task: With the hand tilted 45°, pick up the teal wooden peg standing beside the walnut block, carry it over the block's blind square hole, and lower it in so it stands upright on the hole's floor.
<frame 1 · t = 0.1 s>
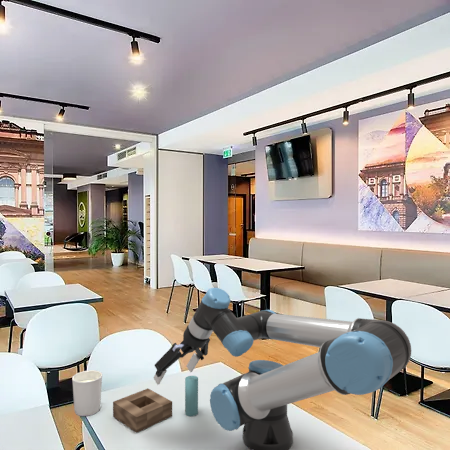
hand: (173, 374, 128), 15 cm above the table, tool tilted 35°, fingers open, 13 cm apart
teal peg: (191, 412, 133), on the table
walnut block: (142, 416, 130), on the table
candle holder: (87, 410, 134), on the table
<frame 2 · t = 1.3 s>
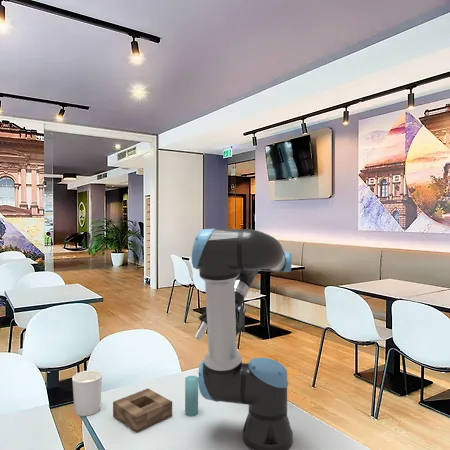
hand: (211, 342, 140), 22 cm above the table, tool tilted 45°, fingers open, 13 cm apart
nothing on the table moved.
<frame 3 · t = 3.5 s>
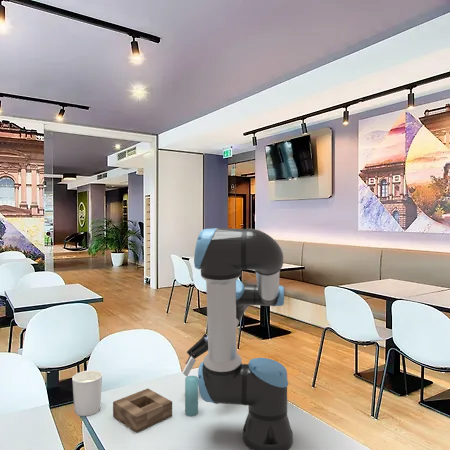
hand: (198, 379, 136), 10 cm above the table, tool tilted 45°, fingers open, 13 cm apart
nothing on the table moved.
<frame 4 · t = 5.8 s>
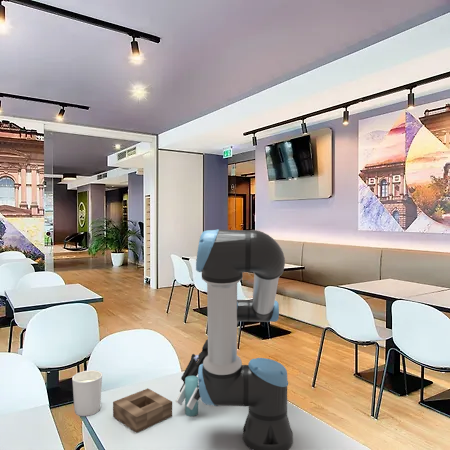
hand: (183, 405, 130), 4 cm above the table, tool tilted 45°, fingers closed on teal peg, 4 cm apart
teal peg: (191, 412, 133), on the table, touching gripper
everything else where it was.
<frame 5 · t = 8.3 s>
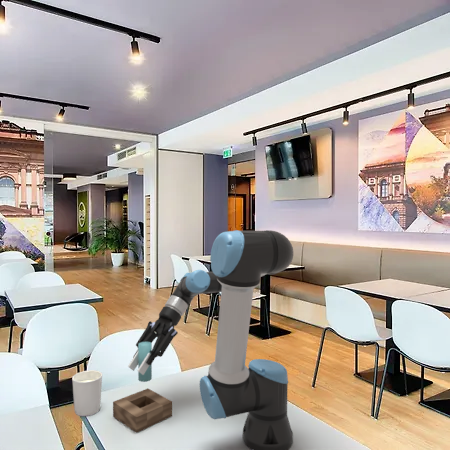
hand: (135, 370, 128), 16 cm above the table, tool tilted 45°, fingers closed on teal peg, 4 cm apart
teal peg: (145, 378, 131), point 12 cm above the table, touching gripper
everything else where it was.
when the fingers open (7 cm above the table, at t = 10.9 s): teal peg drops 1 cm, resting on walnut block.
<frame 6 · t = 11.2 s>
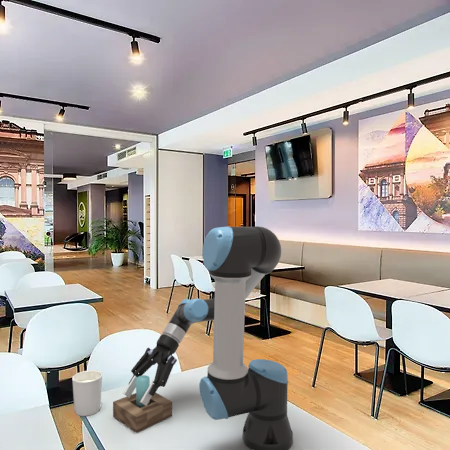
hand: (134, 399, 127), 7 cm above the table, tool tilted 45°, fingers open, 8 cm apart
teal peg: (143, 413, 130), point 1 cm above the table, touching walnut block
everything else where it was.
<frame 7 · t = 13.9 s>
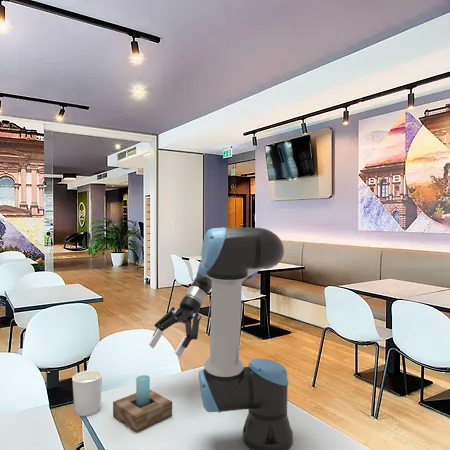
hand: (163, 350, 137), 20 cm above the table, tool tilted 45°, fingers open, 13 cm apart
nothing on the table moved.
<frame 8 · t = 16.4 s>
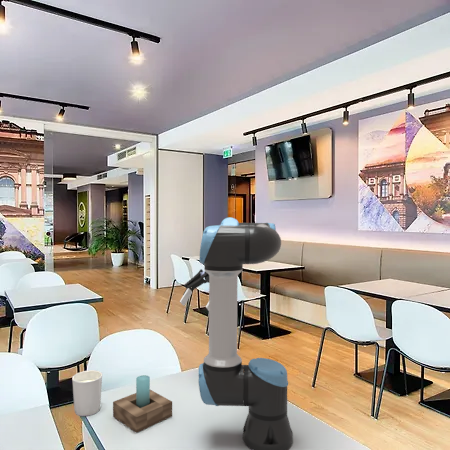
hand: (194, 306, 148), 33 cm above the table, tool tilted 45°, fingers open, 13 cm apart
nothing on the table moved.
at the end: teal peg 0.1 cm off-centre on the walnut block, point 1.0 cm above the walnut block's base; teal peg tilted 0°; the gripper is holding nothing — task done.
